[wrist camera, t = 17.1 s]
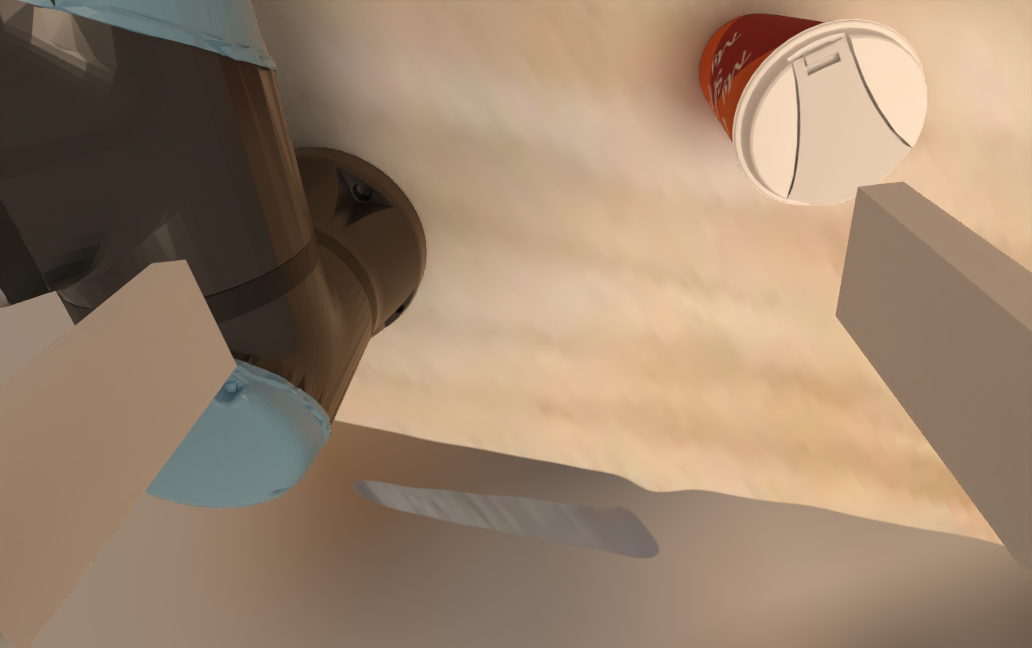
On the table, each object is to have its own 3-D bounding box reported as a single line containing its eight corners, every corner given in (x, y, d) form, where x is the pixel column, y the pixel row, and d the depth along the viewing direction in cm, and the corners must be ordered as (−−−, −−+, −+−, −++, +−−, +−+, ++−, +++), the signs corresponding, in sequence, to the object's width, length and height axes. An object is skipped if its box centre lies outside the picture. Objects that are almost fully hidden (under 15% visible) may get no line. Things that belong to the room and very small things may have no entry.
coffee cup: (663, 33, 38) (716, 82, 25) (796, -35, 36) (928, -19, 23) (703, 152, 42) (767, 245, 29) (826, 97, 39) (953, 173, 27)
